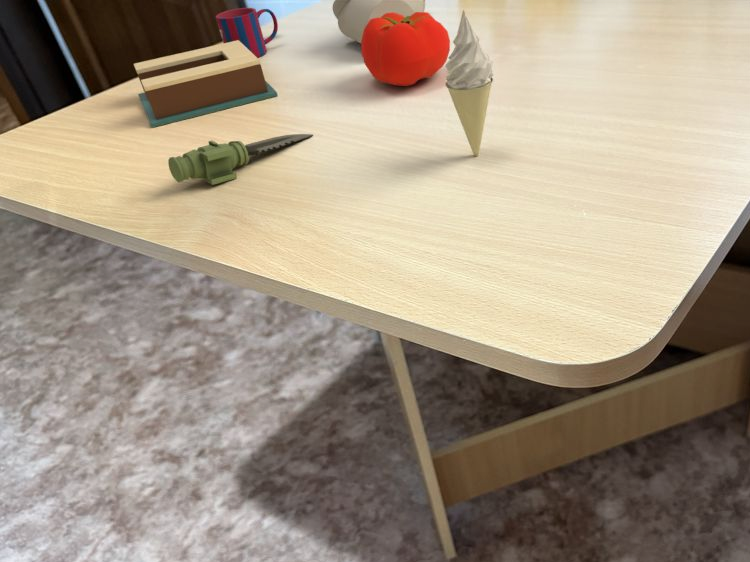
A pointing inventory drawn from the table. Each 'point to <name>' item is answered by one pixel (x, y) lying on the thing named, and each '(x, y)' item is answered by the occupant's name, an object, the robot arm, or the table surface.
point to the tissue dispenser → (200, 82)
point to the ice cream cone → (469, 82)
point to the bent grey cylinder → (370, 13)
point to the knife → (223, 158)
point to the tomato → (404, 47)
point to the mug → (245, 28)
